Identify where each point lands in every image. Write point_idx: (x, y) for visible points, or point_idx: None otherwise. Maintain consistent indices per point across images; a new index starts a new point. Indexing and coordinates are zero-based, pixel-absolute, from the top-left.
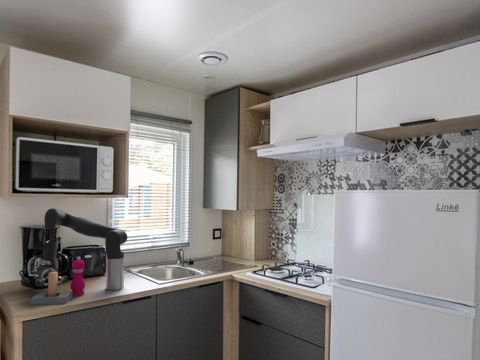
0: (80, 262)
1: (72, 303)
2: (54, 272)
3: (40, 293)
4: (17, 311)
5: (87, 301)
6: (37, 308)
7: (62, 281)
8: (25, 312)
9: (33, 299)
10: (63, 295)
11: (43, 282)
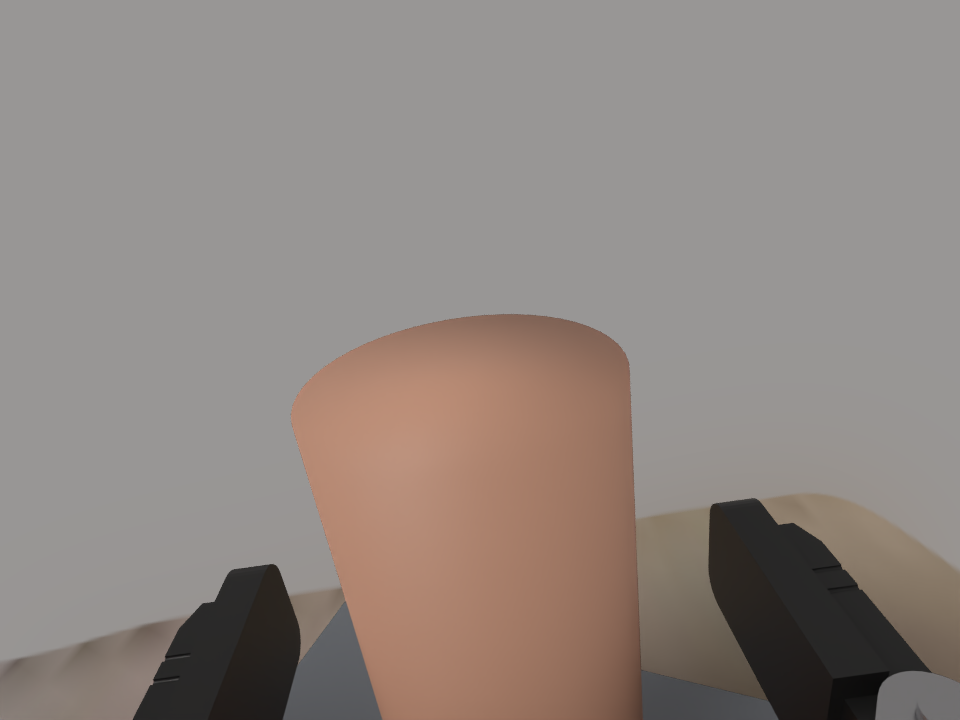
0: None
1: (300, 640)
2: (410, 393)
3: None
4: (942, 572)
5: (126, 651)
6: (713, 599)
7: (274, 579)
8: (803, 519)
9: None
10: (350, 715)
11: (739, 504)
